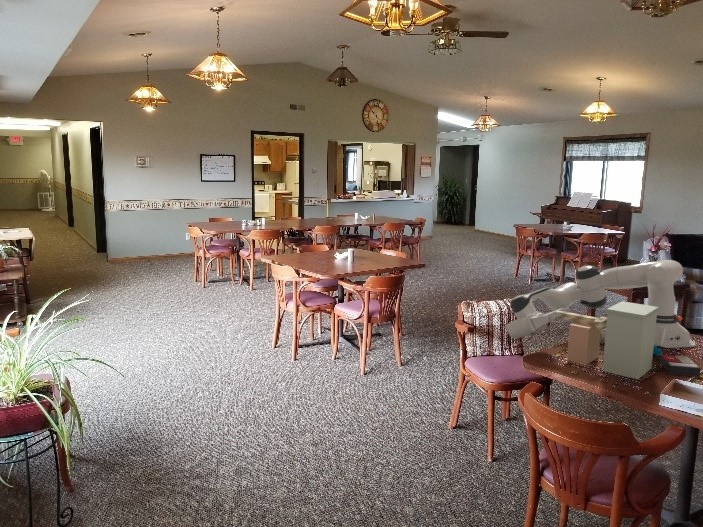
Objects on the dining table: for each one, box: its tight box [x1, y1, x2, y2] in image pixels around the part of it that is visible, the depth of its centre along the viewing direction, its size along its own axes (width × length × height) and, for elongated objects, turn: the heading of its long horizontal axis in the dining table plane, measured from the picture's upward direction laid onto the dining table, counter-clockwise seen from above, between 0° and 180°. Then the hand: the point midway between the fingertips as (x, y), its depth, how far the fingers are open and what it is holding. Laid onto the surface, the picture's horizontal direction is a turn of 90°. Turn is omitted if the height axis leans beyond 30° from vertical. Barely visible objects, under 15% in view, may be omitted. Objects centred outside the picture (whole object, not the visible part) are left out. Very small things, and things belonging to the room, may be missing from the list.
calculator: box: [658, 354, 701, 377], centre depth 223 cm, size 11×4×15 cm
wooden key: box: [554, 310, 607, 329], centre depth 233 cm, size 21×10×3 cm, turn 46°
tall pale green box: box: [602, 300, 659, 380], centre depth 220 cm, size 14×18×26 cm
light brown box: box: [566, 322, 601, 366], centre depth 233 cm, size 8×14×16 cm, turn 136°
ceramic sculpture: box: [600, 328, 606, 344], centre depth 253 cm, size 11×9×15 cm
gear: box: [653, 345, 663, 357], centre depth 237 cm, size 11×6×10 cm
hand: (564, 311), depth 237 cm, fingers open, 8 cm apart
